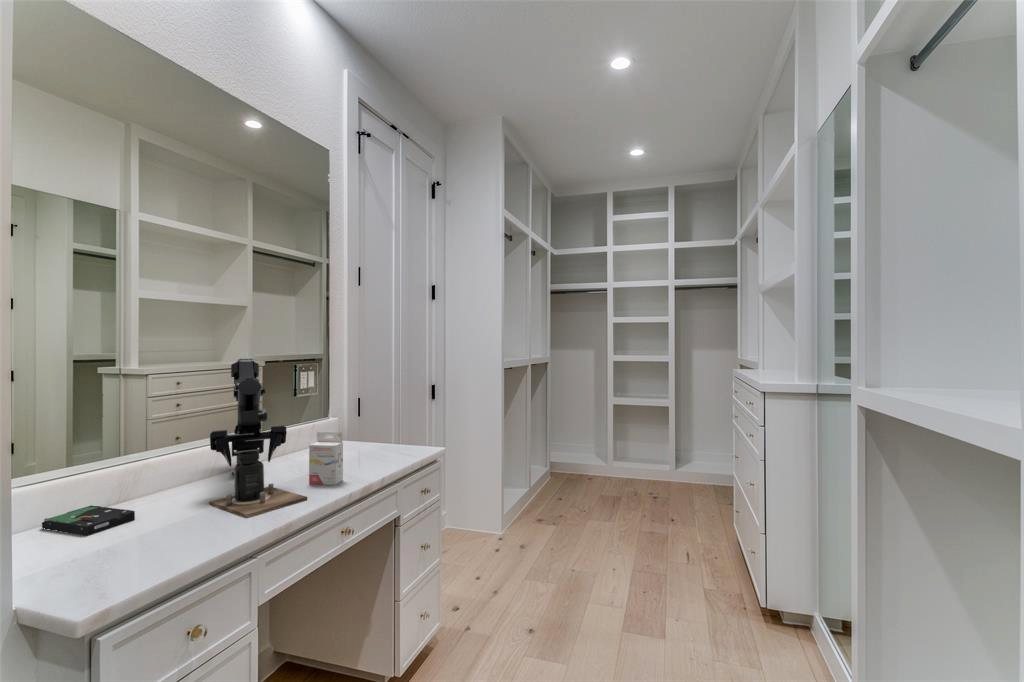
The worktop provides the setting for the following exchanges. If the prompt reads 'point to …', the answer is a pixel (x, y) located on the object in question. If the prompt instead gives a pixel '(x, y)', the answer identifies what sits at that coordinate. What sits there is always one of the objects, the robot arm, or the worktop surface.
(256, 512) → the plate
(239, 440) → the robot arm
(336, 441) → the ink cartridge box
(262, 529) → the worktop surface
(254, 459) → the supplement bottle
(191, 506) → the worktop surface
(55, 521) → the disk drive
